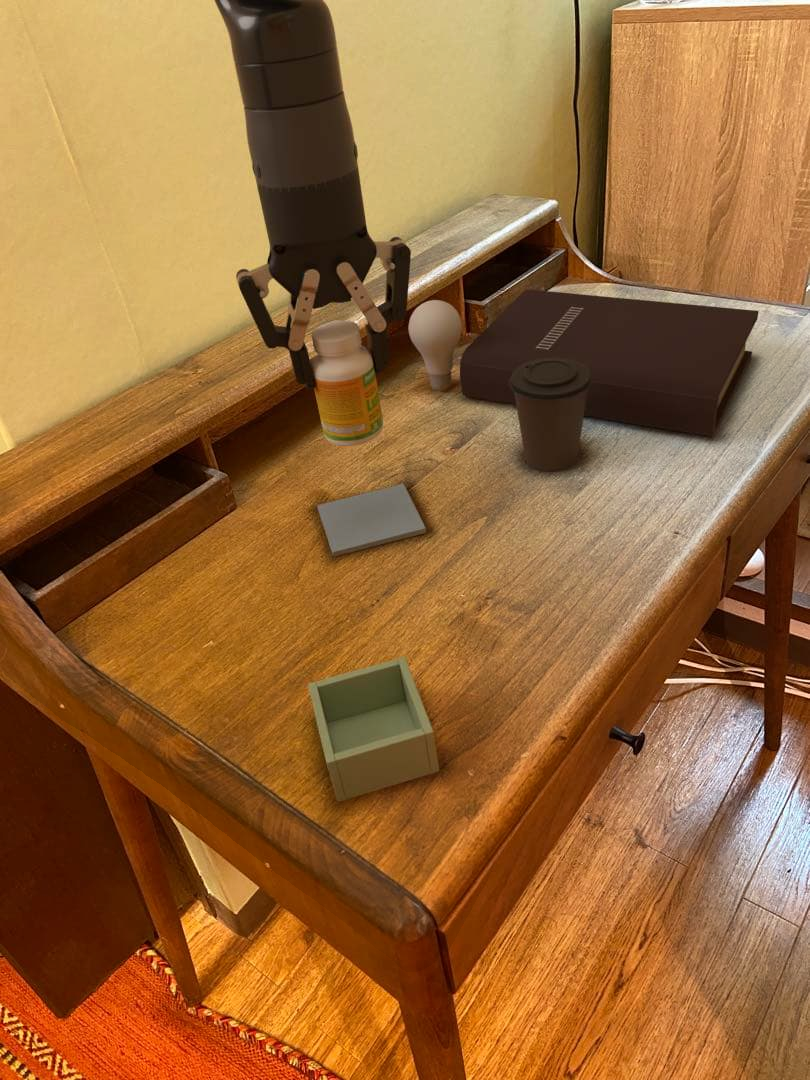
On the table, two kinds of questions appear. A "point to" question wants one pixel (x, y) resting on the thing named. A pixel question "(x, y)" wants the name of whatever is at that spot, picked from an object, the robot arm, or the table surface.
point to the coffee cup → (551, 410)
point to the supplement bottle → (345, 385)
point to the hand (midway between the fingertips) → (343, 376)
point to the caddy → (373, 728)
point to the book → (620, 355)
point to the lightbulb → (436, 339)
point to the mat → (370, 519)
